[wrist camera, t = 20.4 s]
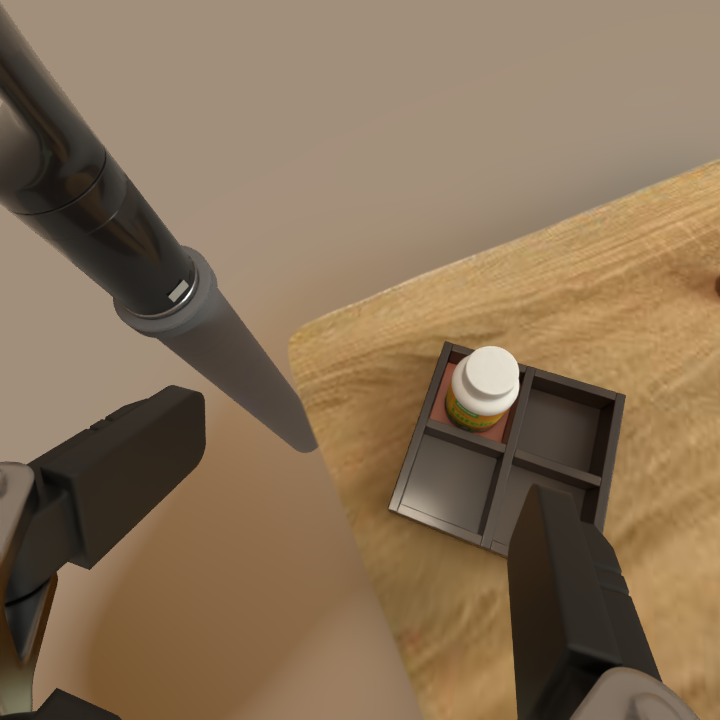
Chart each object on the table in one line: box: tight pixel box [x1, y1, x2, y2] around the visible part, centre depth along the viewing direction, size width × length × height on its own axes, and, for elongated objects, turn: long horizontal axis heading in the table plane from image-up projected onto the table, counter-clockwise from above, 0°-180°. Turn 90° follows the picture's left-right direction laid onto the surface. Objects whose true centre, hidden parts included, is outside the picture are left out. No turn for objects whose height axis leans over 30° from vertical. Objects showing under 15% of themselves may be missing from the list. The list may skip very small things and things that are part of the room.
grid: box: [388, 341, 626, 559], centre depth 38 cm, size 16×16×4 cm
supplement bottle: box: [445, 346, 519, 432], centre depth 36 cm, size 5×5×10 cm
